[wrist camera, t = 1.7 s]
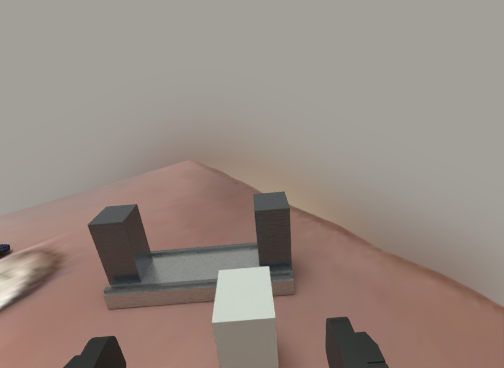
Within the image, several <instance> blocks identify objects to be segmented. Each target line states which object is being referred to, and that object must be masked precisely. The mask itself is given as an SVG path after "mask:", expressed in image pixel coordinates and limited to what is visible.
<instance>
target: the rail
mask: <svg viewBox="0 0 504 368" xmlns="http://www.w3.org/2000/svg"><path fill="white" fill-rule="evenodd" d="M253 196H254V211H255V222H256V233H257V242H256V243H244V244H232V245H220V246H208V247H196V248H184V249H172V250H160V251H150V248H149V245H148V241H147V238H146V234H145V231H144V227H143V224H142V220H141V217H140V213H139V209H138V206H137V204H133V205H122V206H110V207H106V208H105V209H104V210H103V211H102V212H100V213H99V214H98V215H97V216H96V217H95V218H94V219H93V220H92V221H91V222H90V223H89V224H88V227H89V230H90V233H91V235H92V238H93V241H94V243H95V246H96V249H97V251H98V254H99V257H100V259H101V262H102V265H103V267H104V270H105V273H106V275H107V278H108V281H109V283H110V286H109V287H106V288H105V289H104V293H105V294H104V295H103V296H104V299H105V301H106V304H107V306H108V309H119V308H131V307H144V306H156V305H169V304H181V303H193V302H206V301H215V295H216V288H217V280H218V273H219V270H229V269H241V268H253V267H265V266H269V270H270V279H271V287H272V295H273V296H280V295H292V294H294V277H293V272H292V266H291V233H290V207H289V204H288V201H287V198H286V195H285V192H275V193H263V194H253Z"/></svg>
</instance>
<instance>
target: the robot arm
mask: <svg viewBox="0 0 504 368" xmlns="http://www.w3.org/2000/svg"><path fill="white" fill-rule="evenodd" d="M326 354H327V359H328V364H329V367H330V368H389V367H388V365H387V364H386V362H385V359H384V357H383V355H382V353H381V351H380V349H379V347H378V345H377V344H376V343H375V342H374V341H373V340H372V339H371V338H370V336H369V335H368V334H367V333H366V332H357V333H355V332H354V330H353V328H352V325H351V323H350V321H349V319H348V318H347V317H336V318H327V319H326ZM64 368H126V361H125V359H124V356H123V354H122V351H121V349H120V346H119V344H118V341H117V339H116V337H115V336H106V337H95V338H92V339H90V340H89V342H88V343H87V345H86V346H85V348H84V350H83V351H82V353H81V355H77V356H74V357H73V358H72V359H71V360H70V361H69V362H68V363H67V364H66V365H65V366H64Z"/></svg>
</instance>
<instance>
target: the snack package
mask: <svg viewBox="0 0 504 368" xmlns="http://www.w3.org/2000/svg"><path fill="white" fill-rule="evenodd" d="M8 250H10V245H7V244H4V245H3V244H2V245H0V252H3V251H8Z"/></svg>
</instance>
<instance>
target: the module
mask: <svg viewBox="0 0 504 368" xmlns="http://www.w3.org/2000/svg"><path fill="white" fill-rule="evenodd" d="M212 326H213V331H214V336H215V341H216V346H217V352H218V357H219V362H220V367H221V368H279V366H278V351H277V336H276V321H275V311H274V303H273V295H272V287H271V279H270V270H269V266H265V267H253V268H241V269H229V270H219V273H218V280H217V288H216V295H215V303H214V310H213V318H212Z"/></svg>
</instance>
